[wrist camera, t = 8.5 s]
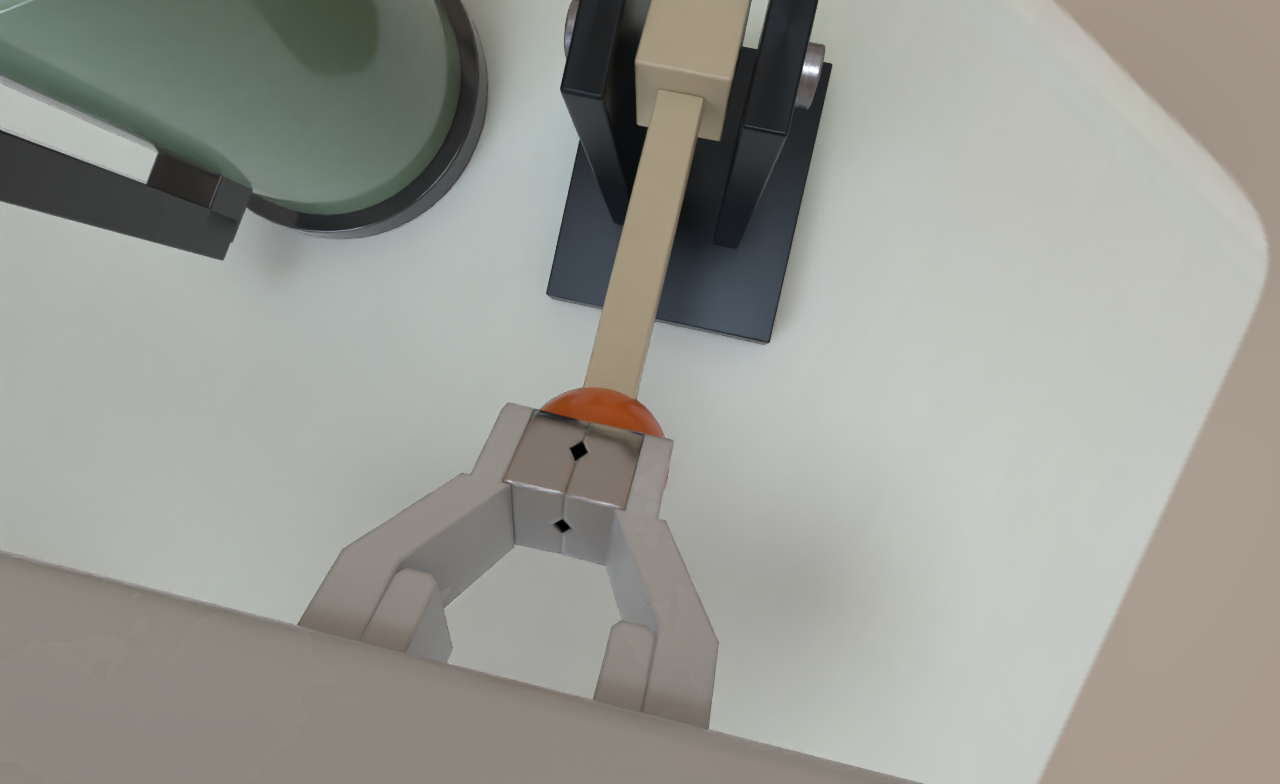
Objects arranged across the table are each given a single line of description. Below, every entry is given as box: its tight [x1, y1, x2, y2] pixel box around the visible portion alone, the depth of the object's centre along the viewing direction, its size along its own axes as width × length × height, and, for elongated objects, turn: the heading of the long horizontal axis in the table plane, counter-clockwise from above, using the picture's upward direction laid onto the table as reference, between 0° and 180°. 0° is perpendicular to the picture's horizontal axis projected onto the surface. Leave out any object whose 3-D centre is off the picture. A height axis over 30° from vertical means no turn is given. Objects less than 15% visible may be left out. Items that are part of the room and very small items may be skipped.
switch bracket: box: [546, 0, 832, 345], centre depth 20 cm, size 11×9×13 cm
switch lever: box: [539, 0, 752, 489], centre depth 15 cm, size 13×3×3 cm, turn 167°
